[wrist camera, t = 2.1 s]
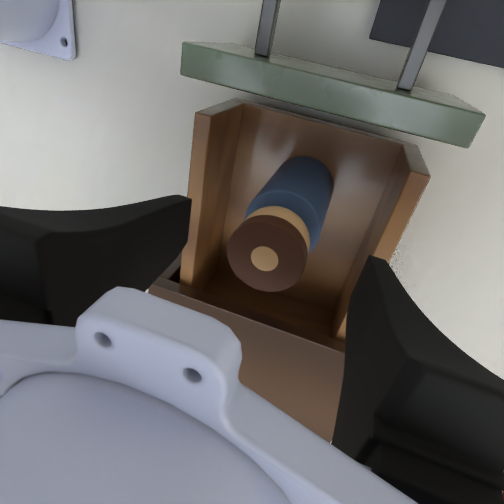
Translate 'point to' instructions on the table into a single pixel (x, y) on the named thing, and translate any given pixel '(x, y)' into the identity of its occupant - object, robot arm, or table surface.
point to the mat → (447, 28)
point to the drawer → (320, 148)
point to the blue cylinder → (282, 225)
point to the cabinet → (273, 355)
